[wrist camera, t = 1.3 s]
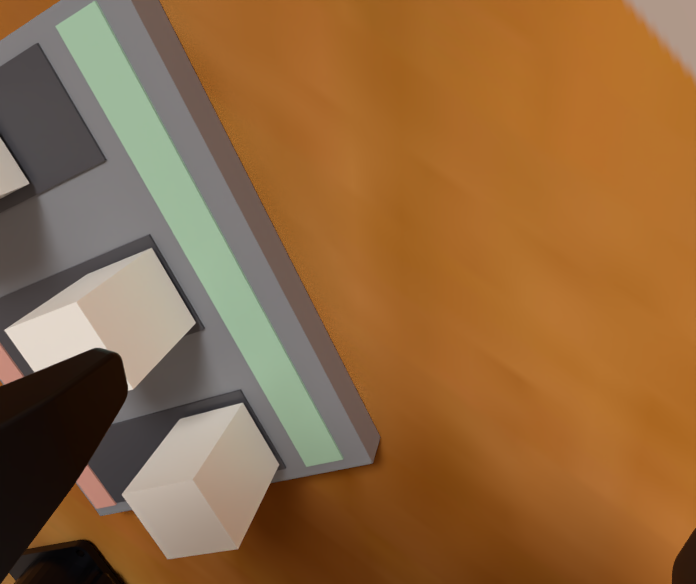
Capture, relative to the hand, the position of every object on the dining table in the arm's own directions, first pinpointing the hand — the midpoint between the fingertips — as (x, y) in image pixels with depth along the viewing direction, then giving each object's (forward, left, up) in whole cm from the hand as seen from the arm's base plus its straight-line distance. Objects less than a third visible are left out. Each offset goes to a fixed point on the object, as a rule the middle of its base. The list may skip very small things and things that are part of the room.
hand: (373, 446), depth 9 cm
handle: (-11, +1, -9) cm, 14 cm away
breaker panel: (-13, +1, -11) cm, 17 cm away
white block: (-11, -5, -9) cm, 15 cm away
